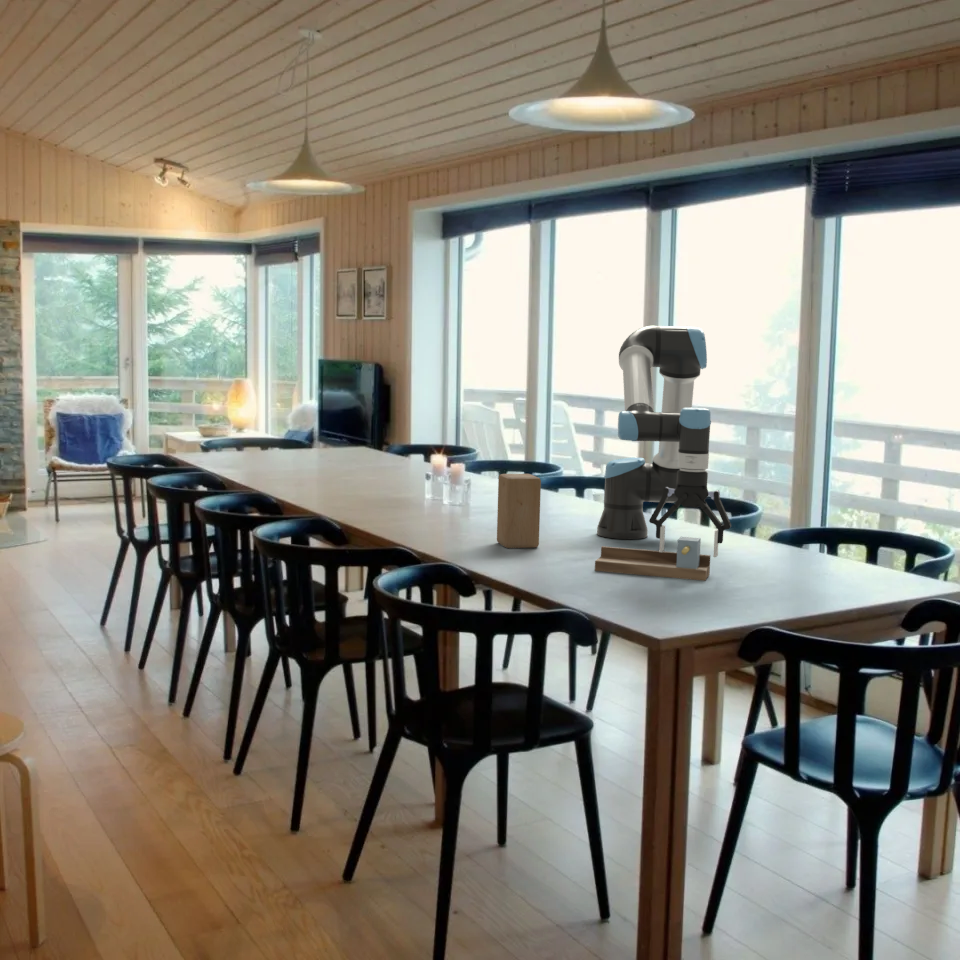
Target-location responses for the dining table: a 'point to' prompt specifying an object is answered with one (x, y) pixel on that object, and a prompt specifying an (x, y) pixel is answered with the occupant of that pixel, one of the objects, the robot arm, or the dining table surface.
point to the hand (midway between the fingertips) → (688, 553)
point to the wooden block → (518, 510)
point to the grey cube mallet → (688, 552)
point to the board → (649, 563)
